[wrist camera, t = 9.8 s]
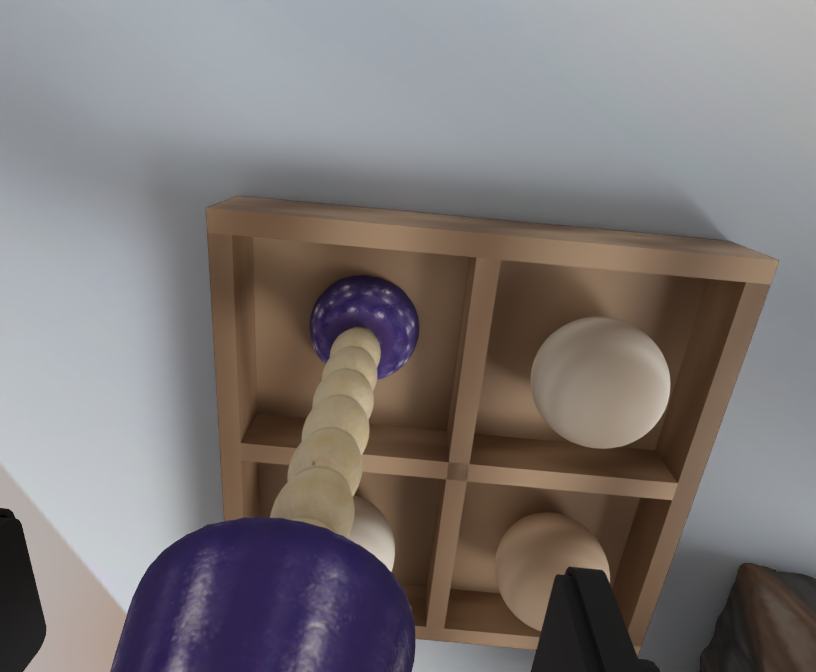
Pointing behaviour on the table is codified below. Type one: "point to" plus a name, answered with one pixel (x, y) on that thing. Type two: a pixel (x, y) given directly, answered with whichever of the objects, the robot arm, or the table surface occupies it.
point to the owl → (765, 624)
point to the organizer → (478, 387)
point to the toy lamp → (293, 534)
